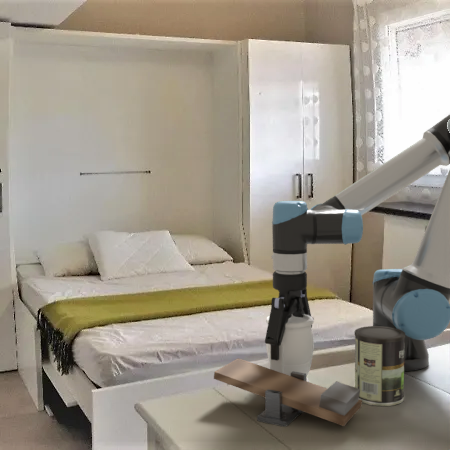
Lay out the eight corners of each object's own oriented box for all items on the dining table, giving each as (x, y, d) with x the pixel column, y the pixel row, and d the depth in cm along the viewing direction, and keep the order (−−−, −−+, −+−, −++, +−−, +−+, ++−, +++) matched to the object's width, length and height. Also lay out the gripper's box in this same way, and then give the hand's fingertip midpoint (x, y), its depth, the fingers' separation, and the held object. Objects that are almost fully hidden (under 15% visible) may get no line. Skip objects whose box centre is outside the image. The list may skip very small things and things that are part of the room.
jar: (304, 373, 152) (304, 310, 150) (320, 388, 142) (320, 321, 140) (261, 377, 150) (260, 313, 148) (273, 393, 140) (273, 325, 138)
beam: (213, 378, 132) (216, 360, 131) (237, 364, 140) (239, 347, 140) (343, 426, 119) (347, 406, 118) (361, 407, 127) (364, 388, 126)
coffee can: (402, 389, 141) (403, 326, 139) (405, 408, 131) (407, 339, 129) (354, 387, 143) (354, 324, 141) (353, 404, 133) (354, 337, 131)
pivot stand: (257, 420, 125) (257, 390, 125) (287, 396, 137) (287, 369, 137) (285, 426, 122) (285, 396, 122) (313, 401, 134) (313, 373, 134)
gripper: (296, 261, 156) (296, 347, 158) (248, 279, 134) (249, 378, 136) (326, 263, 152) (325, 351, 154) (281, 282, 130) (281, 384, 133)
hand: (289, 364), depth 145 cm, fingers open, 13 cm apart
